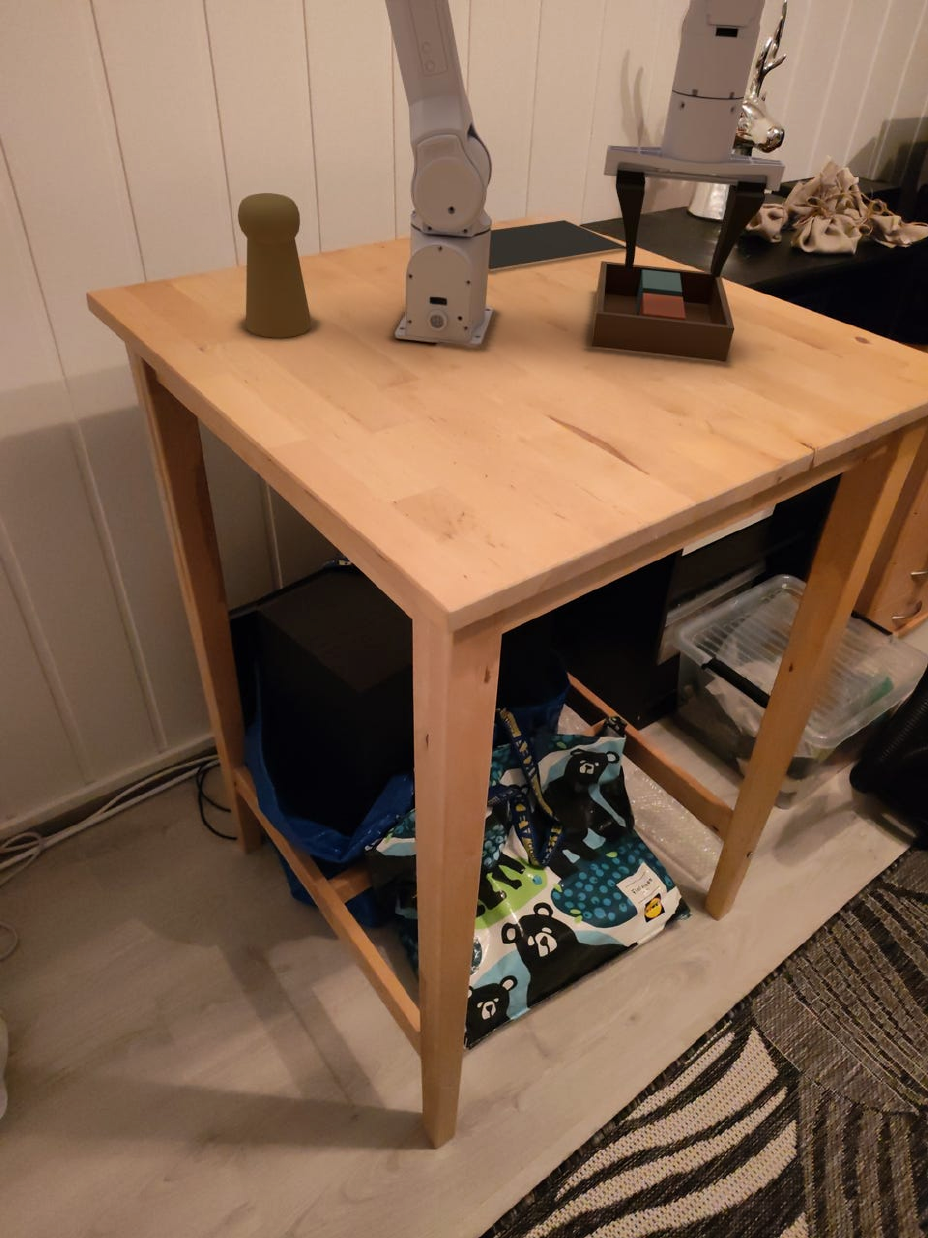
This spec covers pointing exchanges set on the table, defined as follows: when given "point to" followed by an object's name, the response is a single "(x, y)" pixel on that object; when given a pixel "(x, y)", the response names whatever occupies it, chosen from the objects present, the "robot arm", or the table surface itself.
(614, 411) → the table surface
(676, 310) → the block
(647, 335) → the brown open tray
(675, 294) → the block
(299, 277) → the cork
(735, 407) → the table surface
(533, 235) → the mat
